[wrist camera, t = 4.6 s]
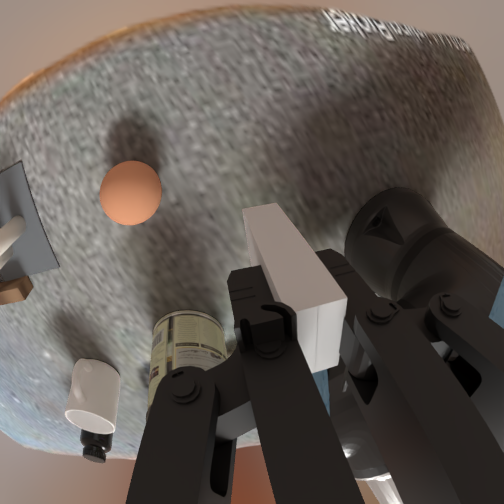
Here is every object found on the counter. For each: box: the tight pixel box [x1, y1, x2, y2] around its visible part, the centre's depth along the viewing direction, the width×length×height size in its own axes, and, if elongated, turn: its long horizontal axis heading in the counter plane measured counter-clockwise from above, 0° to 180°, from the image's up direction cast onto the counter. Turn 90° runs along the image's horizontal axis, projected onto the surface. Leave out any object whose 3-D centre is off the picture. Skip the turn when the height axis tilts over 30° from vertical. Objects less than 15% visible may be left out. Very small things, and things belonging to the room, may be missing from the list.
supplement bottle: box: [80, 429, 113, 463], centre depth 40 cm, size 7×7×12 cm
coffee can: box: [146, 310, 228, 422], centre depth 31 cm, size 10×10×14 cm
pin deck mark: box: [0, 162, 60, 282], centre depth 24 cm, size 12×14×1 cm
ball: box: [100, 161, 162, 225], centre depth 23 cm, size 6×6×6 cm
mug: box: [65, 358, 121, 434], centre depth 33 cm, size 12×8×10 cm
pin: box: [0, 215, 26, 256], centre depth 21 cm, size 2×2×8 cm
